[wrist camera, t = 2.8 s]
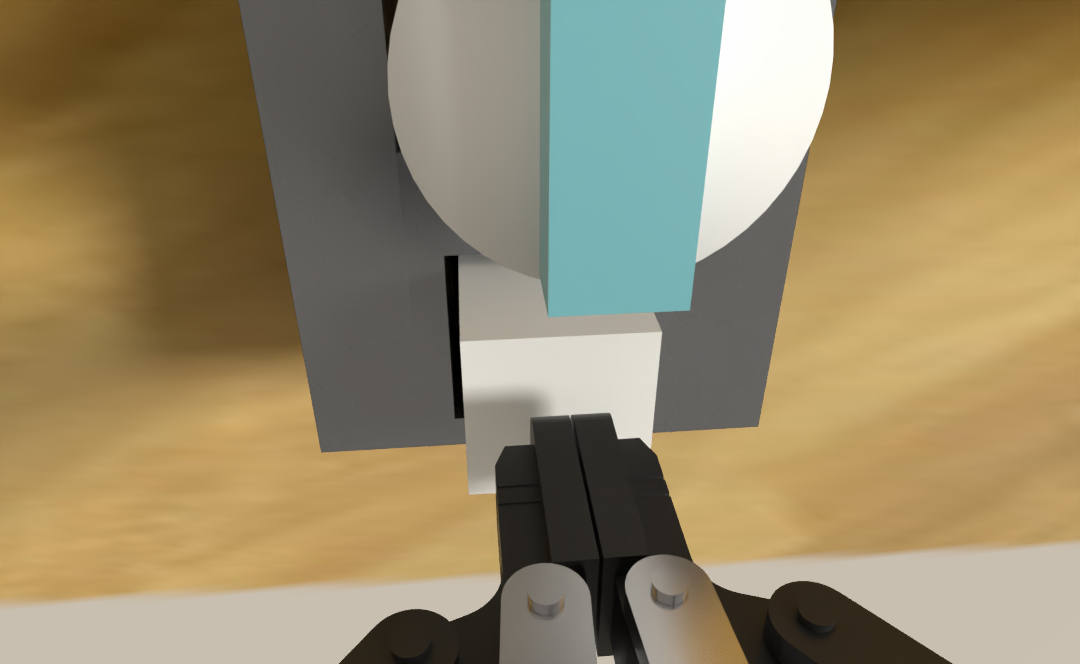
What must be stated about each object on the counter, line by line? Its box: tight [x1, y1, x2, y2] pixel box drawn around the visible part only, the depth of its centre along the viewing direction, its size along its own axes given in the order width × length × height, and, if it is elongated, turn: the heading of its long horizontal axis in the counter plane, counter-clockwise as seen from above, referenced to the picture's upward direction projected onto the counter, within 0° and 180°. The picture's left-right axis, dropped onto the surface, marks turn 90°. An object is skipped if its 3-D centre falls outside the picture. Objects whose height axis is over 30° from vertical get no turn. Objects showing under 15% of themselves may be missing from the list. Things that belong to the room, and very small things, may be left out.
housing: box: [238, 0, 837, 452], centre depth 19 cm, size 15×11×6 cm
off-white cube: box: [458, 254, 662, 495], centre depth 18 cm, size 4×4×5 cm
